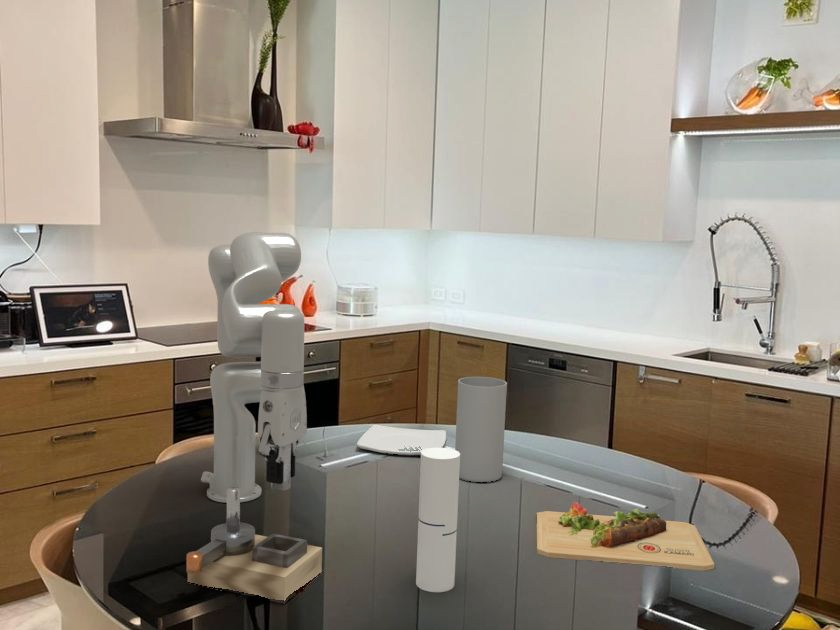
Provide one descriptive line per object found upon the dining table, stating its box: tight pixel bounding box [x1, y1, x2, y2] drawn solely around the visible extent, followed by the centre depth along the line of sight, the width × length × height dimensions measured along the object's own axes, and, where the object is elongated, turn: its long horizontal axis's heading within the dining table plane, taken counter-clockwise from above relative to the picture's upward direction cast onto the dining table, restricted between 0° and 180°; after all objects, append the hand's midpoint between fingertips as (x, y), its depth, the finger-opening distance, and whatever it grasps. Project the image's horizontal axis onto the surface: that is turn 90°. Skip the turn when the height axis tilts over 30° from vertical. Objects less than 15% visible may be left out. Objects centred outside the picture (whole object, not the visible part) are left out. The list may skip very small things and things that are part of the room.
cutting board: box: [536, 501, 715, 572], centre depth 180 cm, size 35×23×8 cm
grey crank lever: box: [186, 487, 256, 574], centre depth 153 cm, size 8×17×11 cm, turn 159°
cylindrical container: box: [415, 447, 460, 593], centre depth 155 cm, size 7×7×25 cm
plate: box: [356, 424, 447, 456], centre depth 246 cm, size 24×24×3 cm
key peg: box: [270, 441, 292, 492], centre depth 152 cm, size 3×3×10 cm
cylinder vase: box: [454, 376, 508, 484], centre depth 219 cm, size 12×12×25 cm
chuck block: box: [187, 533, 323, 601], centre depth 156 cm, size 20×14×8 cm
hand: (280, 478), depth 153 cm, fingers closed on key peg, 3 cm apart
